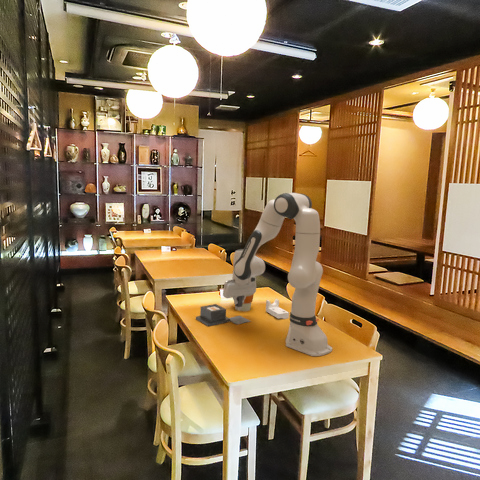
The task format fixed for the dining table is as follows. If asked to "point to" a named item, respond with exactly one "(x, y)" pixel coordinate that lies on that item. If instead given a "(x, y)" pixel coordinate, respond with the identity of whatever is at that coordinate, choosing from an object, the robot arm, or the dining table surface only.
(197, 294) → the dining table surface
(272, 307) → the bracket
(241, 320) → the rest mat
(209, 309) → the button
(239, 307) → the stylus
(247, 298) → the reusable coffee cup
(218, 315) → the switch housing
